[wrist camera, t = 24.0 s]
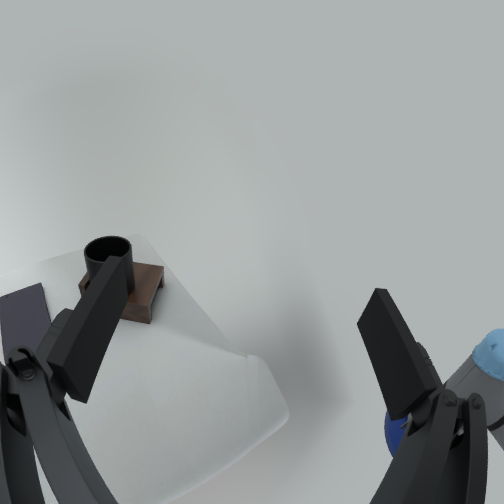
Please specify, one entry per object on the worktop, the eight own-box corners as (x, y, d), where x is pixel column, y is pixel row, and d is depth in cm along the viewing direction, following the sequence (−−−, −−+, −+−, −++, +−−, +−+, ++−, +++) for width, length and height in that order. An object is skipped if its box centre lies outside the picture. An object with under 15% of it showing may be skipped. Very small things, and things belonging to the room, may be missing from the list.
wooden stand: (164, 283, 61) (163, 258, 57) (150, 324, 50) (146, 297, 46) (107, 274, 59) (103, 250, 56) (85, 310, 48) (78, 284, 45)
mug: (146, 270, 56) (144, 233, 51) (123, 307, 46) (117, 267, 41) (110, 262, 56) (105, 226, 51) (83, 295, 45) (74, 256, 41)
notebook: (60, 352, 38) (42, 287, 50) (57, 347, 37) (40, 282, 49) (9, 371, 30) (1, 302, 42) (5, 366, 29) (-1, 297, 41)
